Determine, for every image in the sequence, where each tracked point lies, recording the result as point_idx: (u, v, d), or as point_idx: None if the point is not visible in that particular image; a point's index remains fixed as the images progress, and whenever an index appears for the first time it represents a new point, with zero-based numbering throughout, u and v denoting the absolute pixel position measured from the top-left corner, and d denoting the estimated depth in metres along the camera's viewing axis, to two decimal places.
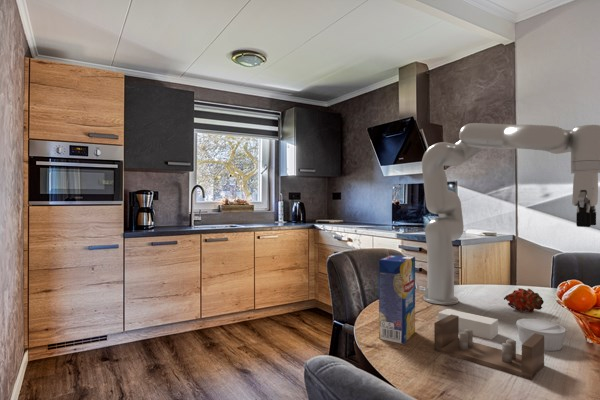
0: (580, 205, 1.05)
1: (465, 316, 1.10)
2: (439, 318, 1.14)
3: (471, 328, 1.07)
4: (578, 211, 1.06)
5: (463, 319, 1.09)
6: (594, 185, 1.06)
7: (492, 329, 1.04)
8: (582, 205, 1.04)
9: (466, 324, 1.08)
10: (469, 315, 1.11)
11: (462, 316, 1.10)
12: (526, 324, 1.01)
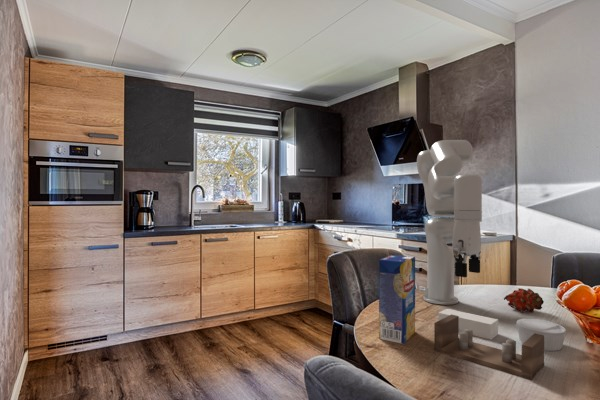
0: (455, 256, 1.05)
1: (466, 316, 1.10)
2: (439, 318, 1.14)
3: (471, 328, 1.07)
4: (455, 261, 1.07)
5: (463, 319, 1.09)
6: (471, 235, 1.07)
7: (492, 329, 1.04)
8: (457, 256, 1.05)
9: (466, 324, 1.08)
10: (469, 315, 1.11)
11: (462, 316, 1.10)
12: (526, 324, 1.01)
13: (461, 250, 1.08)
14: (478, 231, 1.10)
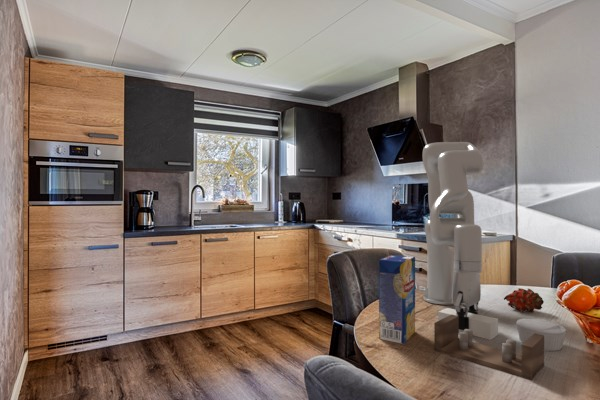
0: (457, 311, 1.06)
1: None
2: (439, 317, 1.14)
3: (471, 327, 1.07)
4: (457, 314, 1.08)
5: None
6: (470, 287, 1.07)
7: (492, 328, 1.04)
8: (459, 310, 1.06)
9: None
10: (469, 314, 1.11)
11: None
12: (526, 324, 1.01)
13: (461, 301, 1.09)
14: (478, 281, 1.10)
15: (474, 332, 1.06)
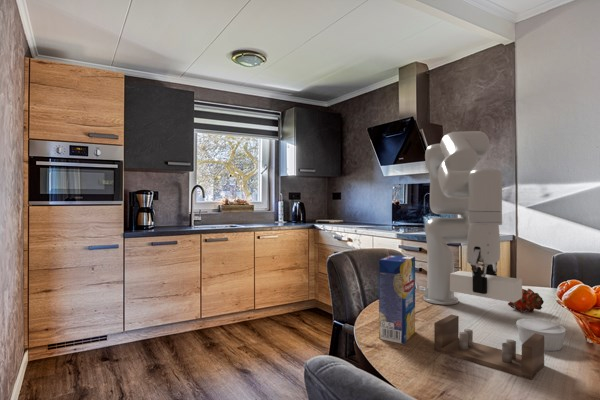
0: (474, 269, 0.89)
1: None
2: (451, 280, 0.96)
3: (490, 289, 0.89)
4: (473, 275, 0.91)
5: None
6: (489, 241, 0.89)
7: (516, 289, 0.87)
8: (476, 269, 0.89)
9: None
10: (487, 276, 0.94)
11: None
12: (526, 324, 1.01)
13: (478, 260, 0.92)
14: (497, 236, 0.93)
15: (494, 295, 0.89)
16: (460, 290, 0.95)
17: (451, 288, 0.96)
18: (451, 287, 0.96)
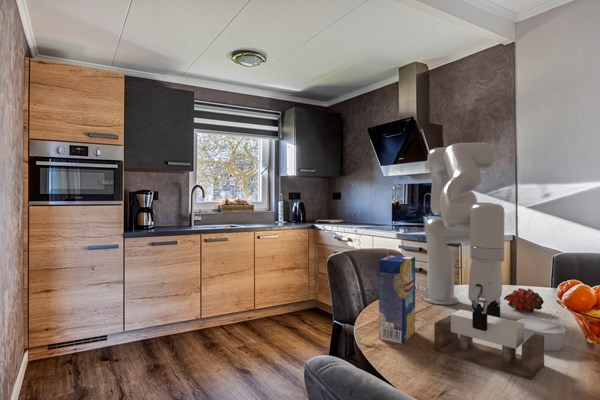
0: (474, 306, 0.87)
1: None
2: (452, 321, 0.95)
3: (491, 333, 0.88)
4: (473, 311, 0.88)
5: None
6: (491, 279, 0.88)
7: (518, 334, 0.86)
8: (476, 306, 0.86)
9: None
10: (488, 317, 0.92)
11: None
12: (526, 324, 1.01)
13: (479, 296, 0.90)
14: (499, 272, 0.91)
15: (495, 339, 0.87)
16: (461, 332, 0.93)
17: (452, 329, 0.95)
18: (452, 328, 0.95)
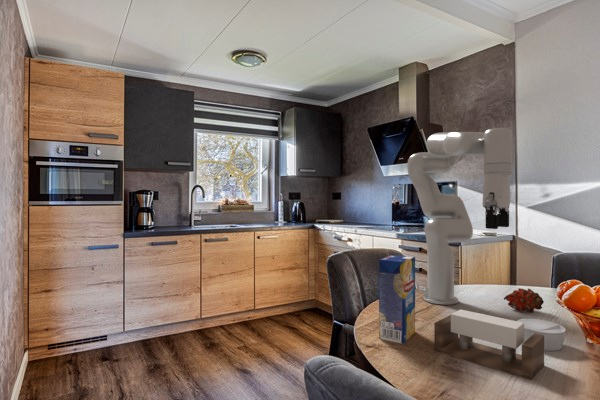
0: (487, 207, 1.06)
1: (484, 319, 0.91)
2: (452, 321, 0.95)
3: (491, 333, 0.88)
4: (486, 213, 1.08)
5: (481, 322, 0.90)
6: (502, 187, 1.07)
7: (518, 334, 0.86)
8: (488, 207, 1.06)
9: (485, 329, 0.89)
10: (488, 317, 0.92)
11: (480, 318, 0.91)
12: (526, 324, 1.01)
13: (491, 203, 1.09)
14: (508, 184, 1.11)
15: (495, 339, 0.87)
16: (461, 332, 0.93)
17: (452, 329, 0.95)
18: (452, 328, 0.95)
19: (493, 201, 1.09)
